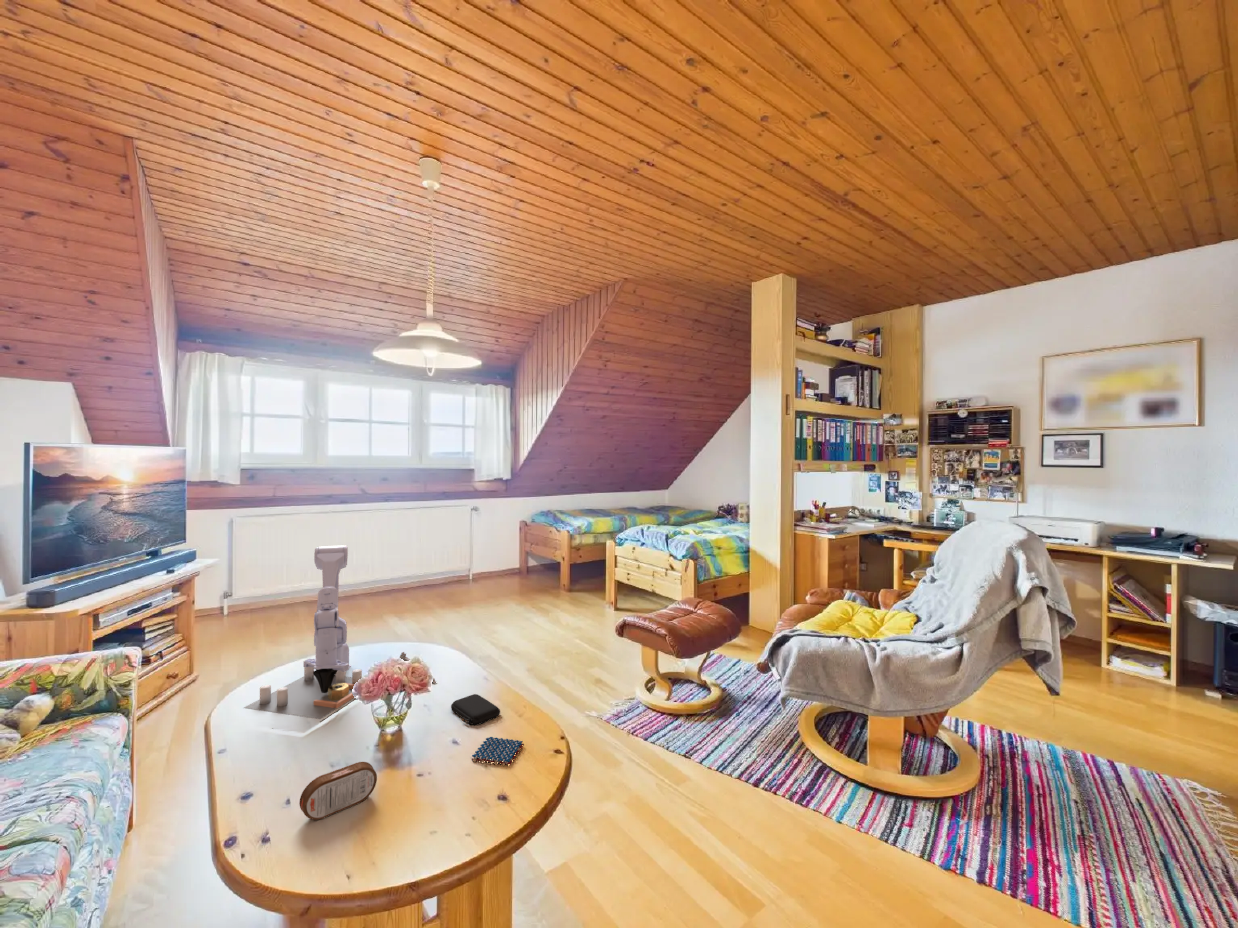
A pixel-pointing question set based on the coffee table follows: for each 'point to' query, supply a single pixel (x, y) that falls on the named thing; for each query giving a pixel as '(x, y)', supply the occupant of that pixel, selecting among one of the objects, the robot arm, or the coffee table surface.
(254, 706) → the plate
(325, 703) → the parts bay
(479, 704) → the carrying case or bag
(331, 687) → the brass nut
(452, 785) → the coffee table surface
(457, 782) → the coffee table surface
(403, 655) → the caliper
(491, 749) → the woven mat
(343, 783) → the tin
